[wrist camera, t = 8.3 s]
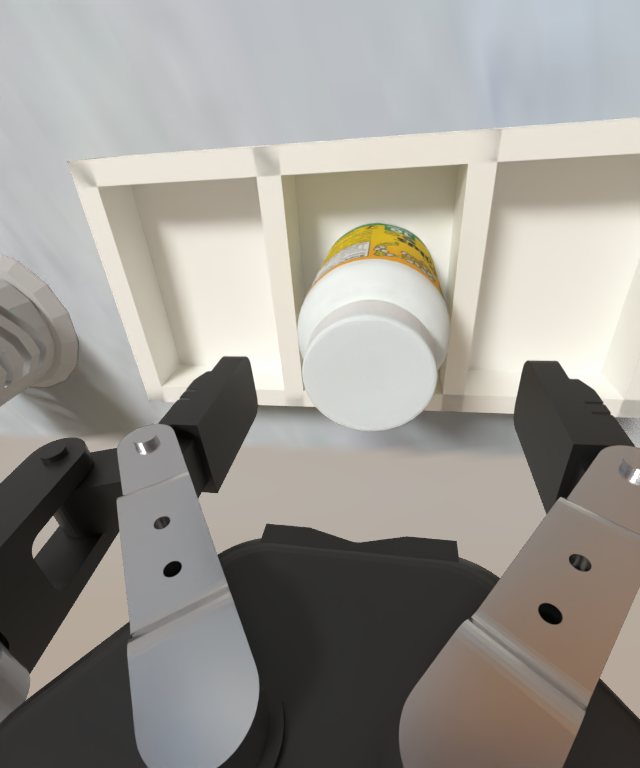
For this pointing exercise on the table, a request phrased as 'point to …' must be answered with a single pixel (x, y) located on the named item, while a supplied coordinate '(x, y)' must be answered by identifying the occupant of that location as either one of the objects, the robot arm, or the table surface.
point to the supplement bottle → (374, 329)
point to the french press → (32, 332)
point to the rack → (392, 205)
